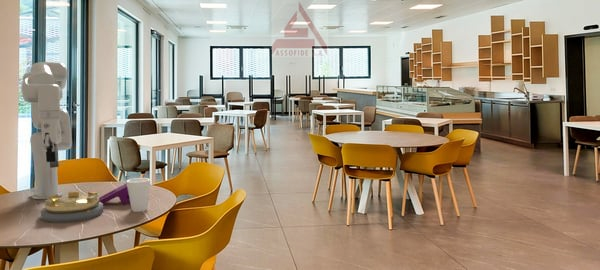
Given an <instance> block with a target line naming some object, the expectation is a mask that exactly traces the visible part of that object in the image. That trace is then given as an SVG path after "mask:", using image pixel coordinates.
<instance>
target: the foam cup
mask: <svg viewBox="0 0 600 270" xmlns="http://www.w3.org/2000/svg"><path fill="white" fill-rule="evenodd" d="M126 183H127V188H128V193H129V198H130V204H129V205H130V207H131V211H132V212H134V213H137V212H139V213H140V212H145V211H147V210H148V205H149V199H150V198H149V197H150V195H149V194H150V188H151V187H150V186H151V179H150V178H147V177H138V178H130V179H127V180H126Z"/></svg>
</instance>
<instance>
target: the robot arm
mask: <svg viewBox="0 0 600 270" xmlns="http://www.w3.org/2000/svg"><path fill="white" fill-rule="evenodd" d="M67 80H68V69H67V67H66V65H65V64H64V63H62V62H55V61H54V62H52V61H51V62H48V61H39V62H35V63H33V64H31V66H30V72H26V73H24V74H23V75H22V83H21V95H22V98H23V100H24V101H25V102H26V103H28V104H29V103H30V109H31V121H32V125H33V127H34V128H35V129H37V130H41V131H39V132H38V131H37V132H35V133H33V134H31V136H30V139H29V142H30V147H31V151H32V156H33V157H32V158H33V168H34V169H33V170H34V185H35V186H33V187H32V188H31V189H30V192H32V193H34V194H33V195H32V196H31V198H32V199H33V200H47V197H48V196H50V195H53V194H55V195H58V198H61V197H62V196H63V192H62V191H59V181H58V167H53V168H50V163H49V162H55V161H56V157H55V152H54V144H56V146H57V154H58V155H59V151H67V150H70V149H71V148H72V146H73V140H72V139H73V138H72V136H73V135H72V129H71V126H72V125H71V117H70V114H69V112H68V110H67V109H63V108H61V103H60V101H61V100H62V98H63V94H64V93H63V90H64V88H65V87H66V84H67ZM49 143H52V144H49ZM50 145H52V146H50Z"/></svg>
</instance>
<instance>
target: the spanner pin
mask: <svg viewBox="0 0 600 270" xmlns="http://www.w3.org/2000/svg"><path fill="white" fill-rule="evenodd" d="M49 144H52V143H49ZM50 146H52V145H50ZM54 152H55V157H56V161H55V162H49V163H50V168H53V167H57V168H59V167H60V163H59V153H58V154H57V146H56V144H54Z"/></svg>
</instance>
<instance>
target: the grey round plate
mask: <svg viewBox="0 0 600 270" xmlns="http://www.w3.org/2000/svg"><path fill="white" fill-rule="evenodd" d="M103 213H104V204H103V203H101V202H99V205H98V206H97V207H95V208H93V209H90V210H86V211H81V212H75V213H61V214H58V213H49V212H46V211H45V207H44V208H42V209H41V210H40V219H41V221H42V222H45V223H51V224H52V223H53V224H54V223H55V224H60V223H61V224H62V223H63V224H64V223H66V224H67V223H75V222H81V221H86V220H91V219H93V218H97V217H98V216H101V215H102V214H103ZM96 216H97V217H96Z"/></svg>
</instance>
